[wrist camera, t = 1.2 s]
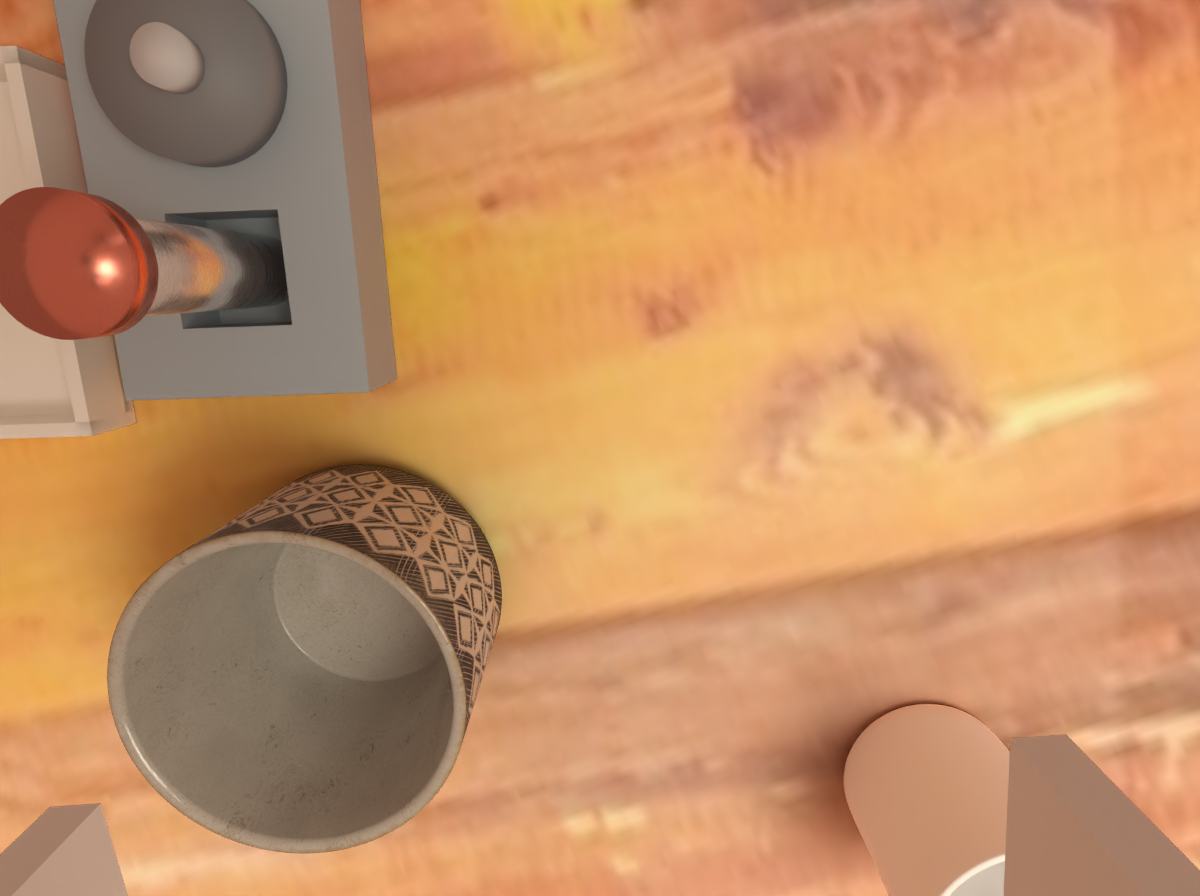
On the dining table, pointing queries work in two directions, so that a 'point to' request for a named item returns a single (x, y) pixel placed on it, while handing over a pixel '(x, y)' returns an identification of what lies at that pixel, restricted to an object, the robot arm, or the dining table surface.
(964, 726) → the cup
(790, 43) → the dining table surface
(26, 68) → the tray
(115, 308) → the lock pin
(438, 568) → the planter
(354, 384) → the block
